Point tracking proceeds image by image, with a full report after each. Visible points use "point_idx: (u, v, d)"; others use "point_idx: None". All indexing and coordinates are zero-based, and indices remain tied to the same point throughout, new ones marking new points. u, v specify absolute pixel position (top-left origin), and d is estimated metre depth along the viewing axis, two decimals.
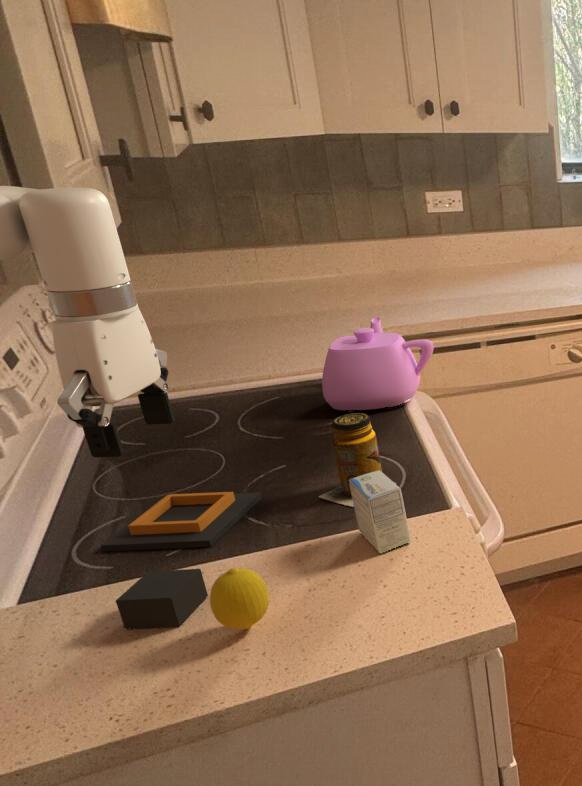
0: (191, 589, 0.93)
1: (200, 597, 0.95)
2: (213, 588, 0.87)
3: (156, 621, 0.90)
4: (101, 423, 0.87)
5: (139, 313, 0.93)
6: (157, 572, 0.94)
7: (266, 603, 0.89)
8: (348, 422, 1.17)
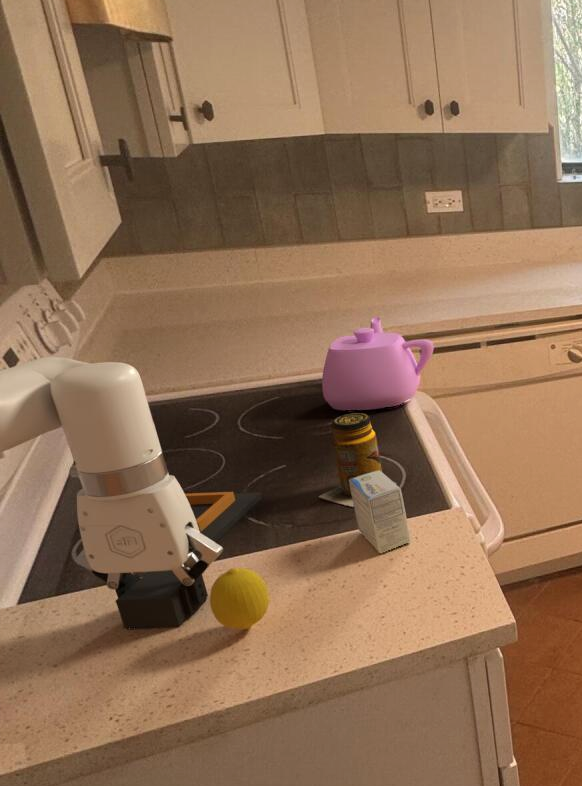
0: None
1: None
2: (213, 588, 0.87)
3: (156, 621, 0.90)
4: None
5: None
6: (157, 572, 0.94)
7: (266, 603, 0.89)
8: (348, 422, 1.17)
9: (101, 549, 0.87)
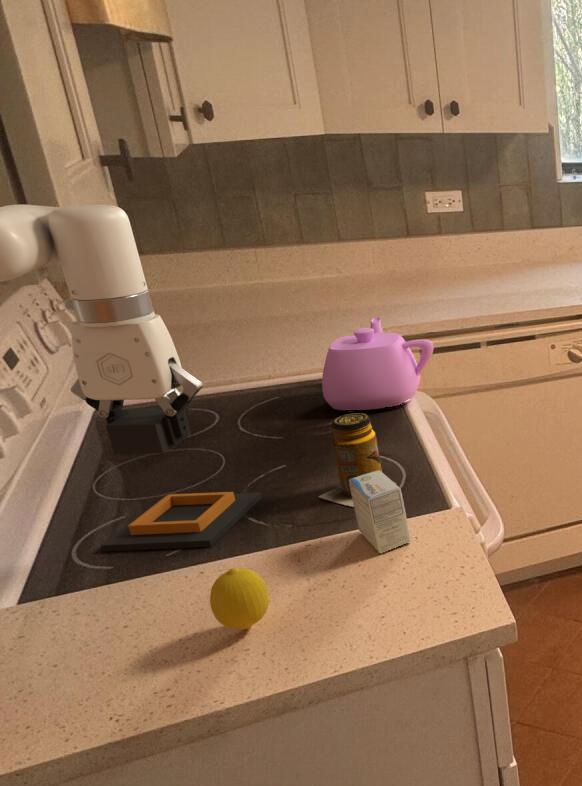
0: None
1: None
2: (213, 588, 0.87)
3: (142, 447, 1.00)
4: (186, 405, 1.03)
5: None
6: (145, 409, 1.04)
7: (266, 603, 0.89)
8: (348, 422, 1.17)
9: (93, 375, 0.96)
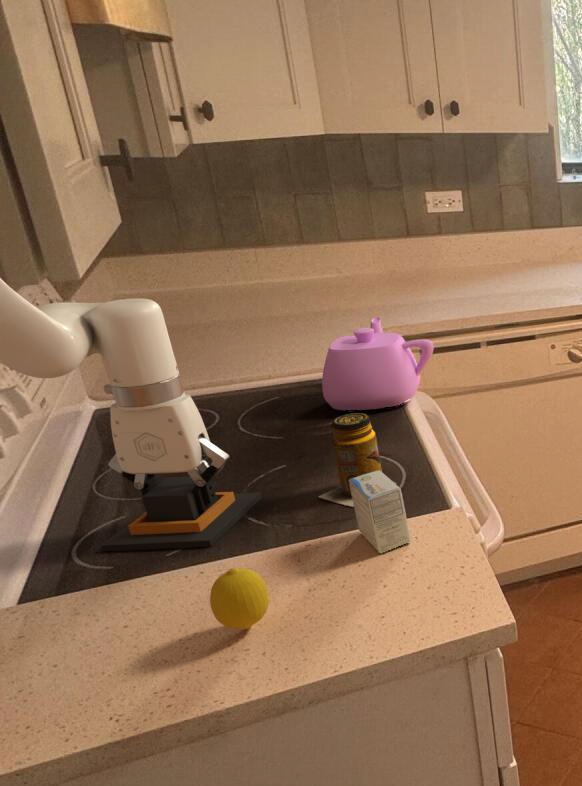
0: None
1: None
2: (213, 588, 0.87)
3: (175, 515, 1.09)
4: None
5: None
6: (175, 478, 1.13)
7: (266, 603, 0.89)
8: (348, 422, 1.17)
9: (130, 453, 1.06)
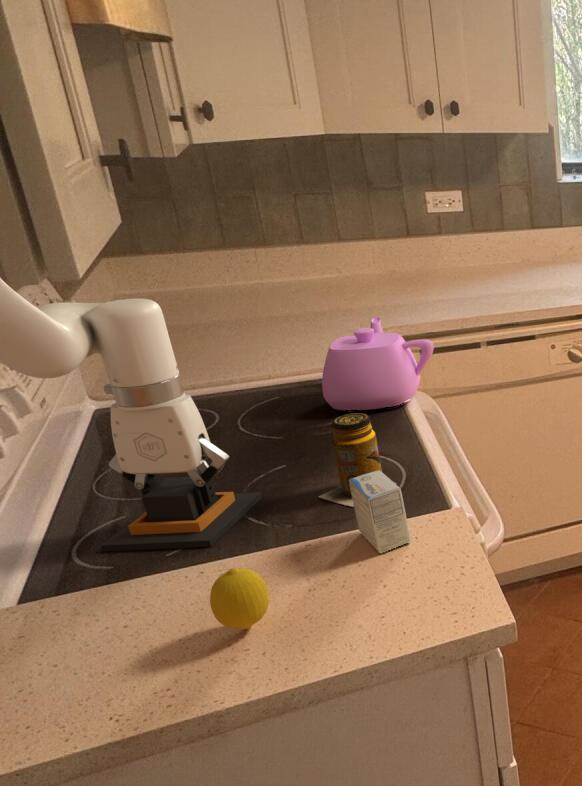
0: None
1: None
2: (213, 588, 0.87)
3: (175, 515, 1.09)
4: None
5: None
6: (175, 478, 1.13)
7: (266, 603, 0.89)
8: (348, 422, 1.17)
9: (130, 453, 1.06)
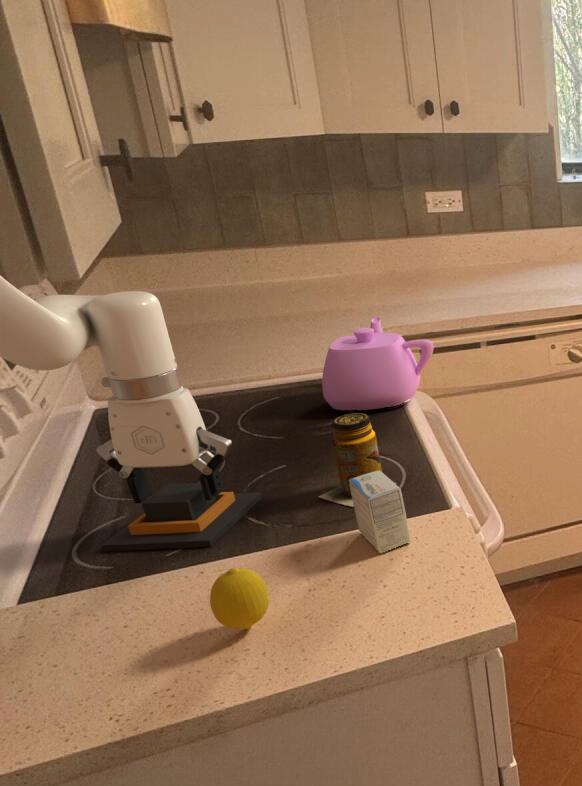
0: (203, 497, 1.12)
1: (211, 505, 1.14)
2: (213, 588, 0.87)
3: None
4: None
5: None
6: (175, 484, 1.13)
7: (266, 603, 0.89)
8: (348, 422, 1.17)
9: (127, 446, 1.05)
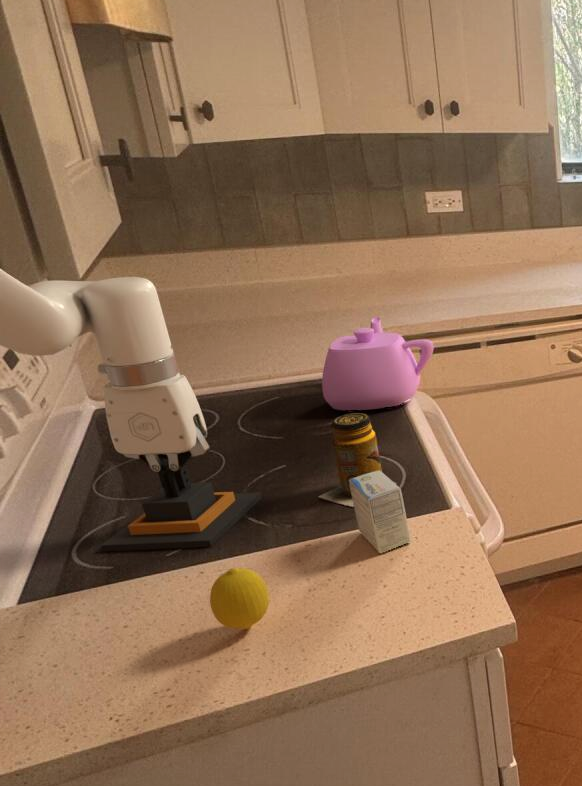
0: (203, 498, 1.12)
1: (211, 505, 1.14)
2: (213, 588, 0.87)
3: None
4: (188, 459, 1.11)
5: None
6: None
7: (266, 603, 0.89)
8: (348, 422, 1.17)
9: (124, 433, 1.05)
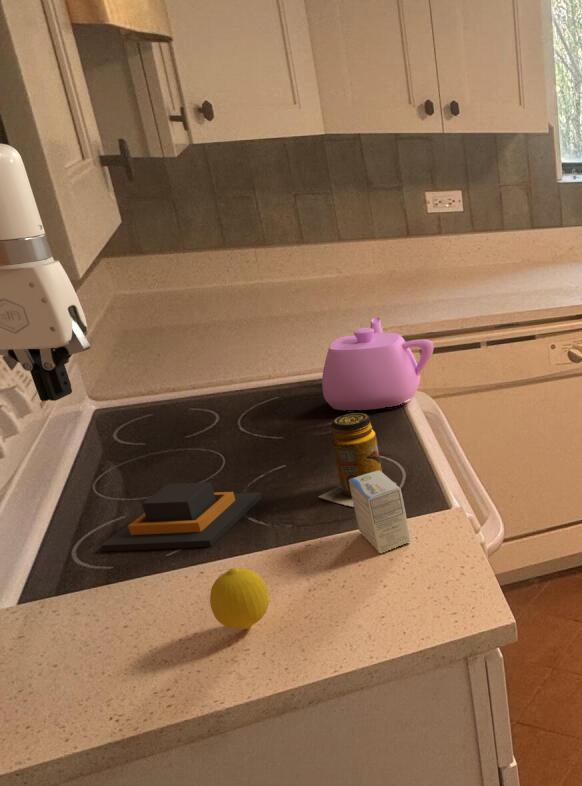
0: (203, 497, 1.12)
1: (211, 505, 1.14)
2: (213, 588, 0.87)
3: None
4: (67, 359, 0.99)
5: None
6: (175, 484, 1.13)
7: (266, 603, 0.89)
8: (348, 422, 1.17)
9: None
